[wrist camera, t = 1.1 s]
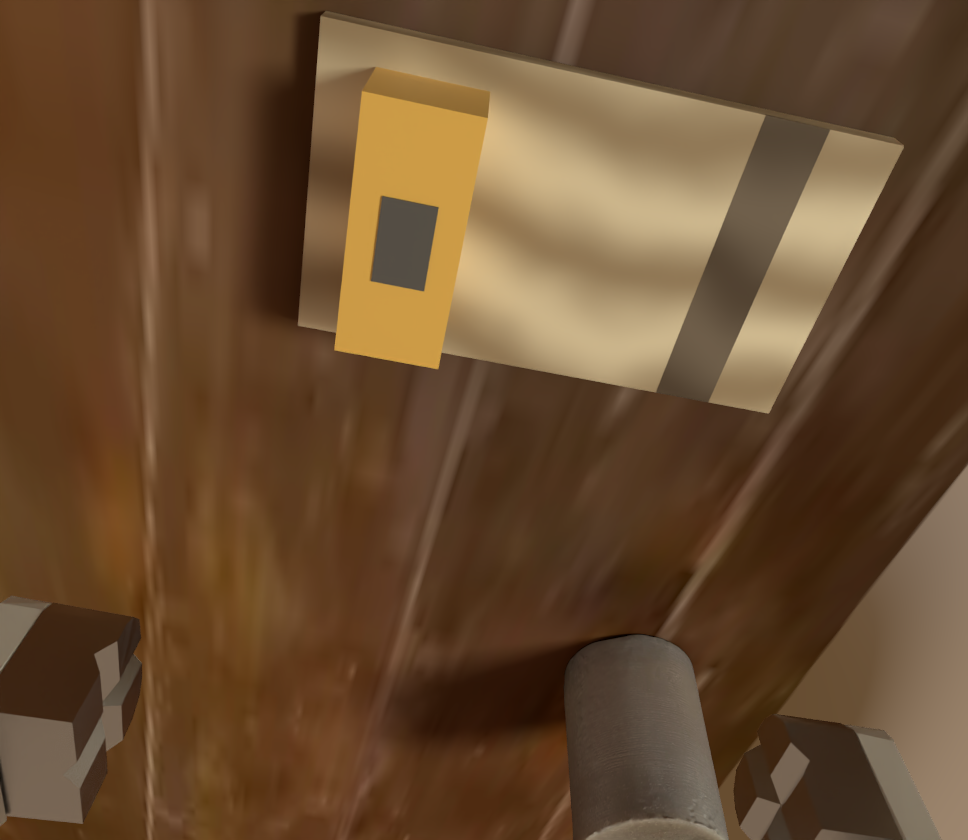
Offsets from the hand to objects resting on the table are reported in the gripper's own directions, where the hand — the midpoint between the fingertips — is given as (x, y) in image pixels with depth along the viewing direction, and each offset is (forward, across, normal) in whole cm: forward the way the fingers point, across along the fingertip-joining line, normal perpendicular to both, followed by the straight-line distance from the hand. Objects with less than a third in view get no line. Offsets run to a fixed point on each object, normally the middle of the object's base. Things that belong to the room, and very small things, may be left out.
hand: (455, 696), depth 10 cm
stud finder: (+31, +3, +4) cm, 31 cm away
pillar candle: (+35, -18, +36) cm, 54 cm away
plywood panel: (+32, -5, +4) cm, 33 cm away
